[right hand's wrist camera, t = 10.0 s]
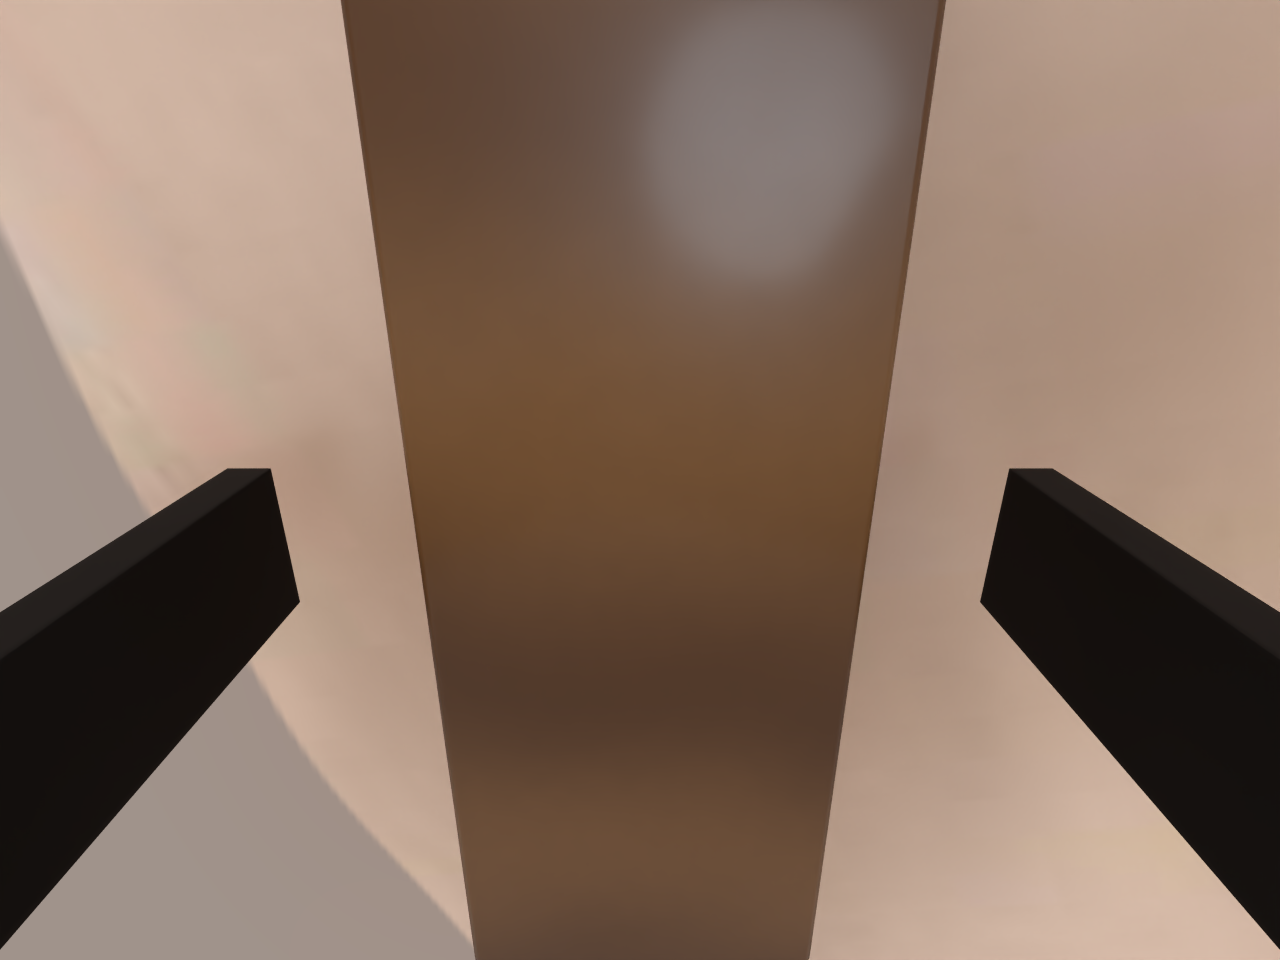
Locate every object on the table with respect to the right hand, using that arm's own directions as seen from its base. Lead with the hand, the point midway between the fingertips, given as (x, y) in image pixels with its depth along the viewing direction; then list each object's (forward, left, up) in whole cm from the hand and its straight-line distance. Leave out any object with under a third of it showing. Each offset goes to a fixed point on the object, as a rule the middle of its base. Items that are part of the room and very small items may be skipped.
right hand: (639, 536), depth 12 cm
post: (+32, 0, -4) cm, 32 cm away
